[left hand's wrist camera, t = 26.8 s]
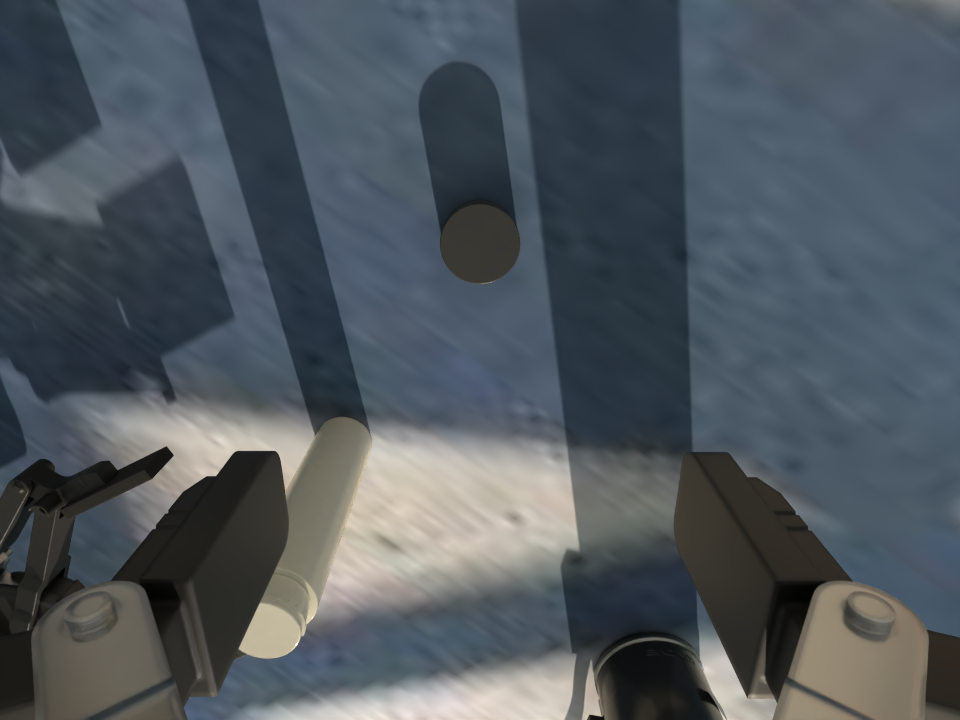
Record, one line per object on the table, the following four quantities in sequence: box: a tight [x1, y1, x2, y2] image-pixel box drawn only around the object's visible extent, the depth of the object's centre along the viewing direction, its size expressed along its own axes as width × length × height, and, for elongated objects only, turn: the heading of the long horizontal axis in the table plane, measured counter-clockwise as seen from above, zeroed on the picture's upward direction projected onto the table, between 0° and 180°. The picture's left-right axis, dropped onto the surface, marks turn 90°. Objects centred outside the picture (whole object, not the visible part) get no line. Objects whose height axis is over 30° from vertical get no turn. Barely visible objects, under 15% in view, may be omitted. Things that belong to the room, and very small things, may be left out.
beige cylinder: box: [239, 417, 372, 658], centre depth 35 cm, size 4×4×18 cm
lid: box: [440, 200, 520, 284], centre depth 37 cm, size 5×5×2 cm
